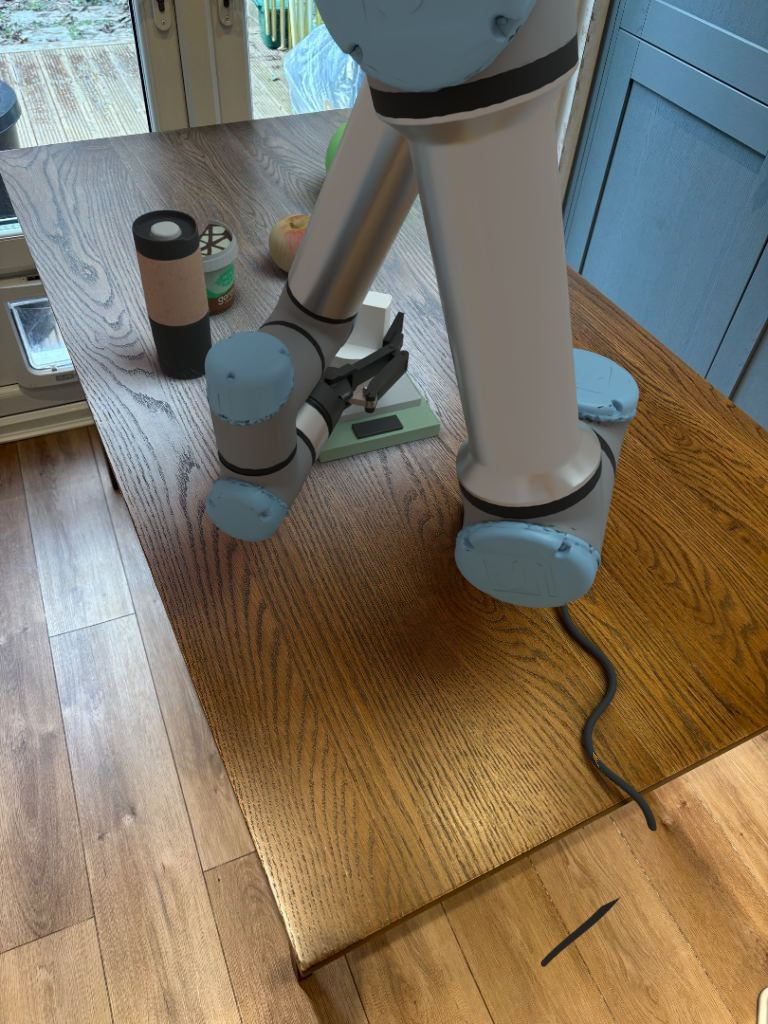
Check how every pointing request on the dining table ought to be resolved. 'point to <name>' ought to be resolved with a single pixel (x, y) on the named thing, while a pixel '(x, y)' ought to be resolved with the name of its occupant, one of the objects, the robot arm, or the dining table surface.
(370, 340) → the base with upright slab
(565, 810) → the dining table surface
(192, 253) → the travel mug
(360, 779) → the dining table surface
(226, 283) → the food container
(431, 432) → the scale
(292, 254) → the apple
